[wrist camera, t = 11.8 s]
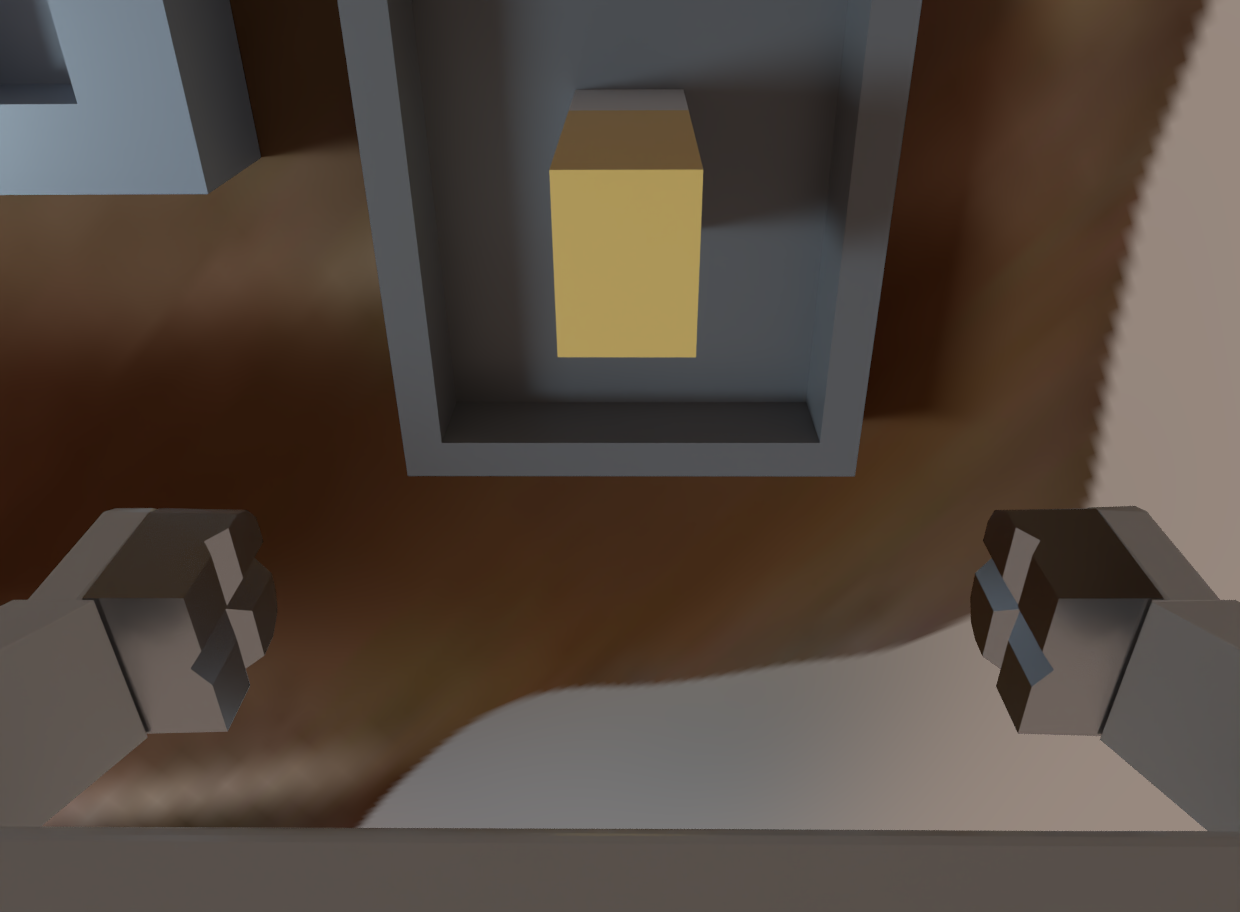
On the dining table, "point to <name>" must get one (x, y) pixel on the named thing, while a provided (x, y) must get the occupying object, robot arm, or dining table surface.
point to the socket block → (121, 97)
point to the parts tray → (730, 227)
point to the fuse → (626, 225)
